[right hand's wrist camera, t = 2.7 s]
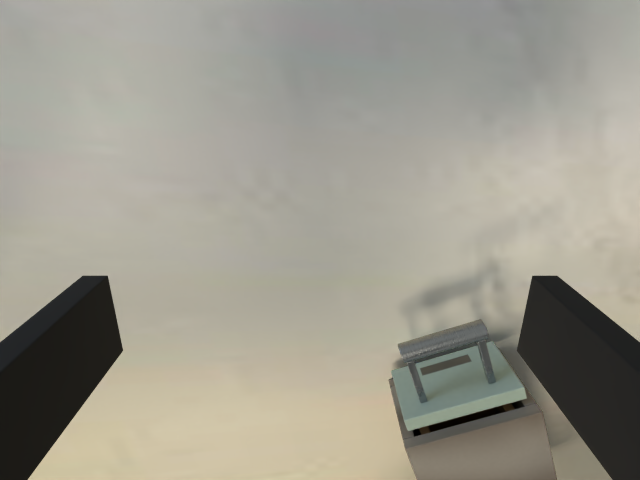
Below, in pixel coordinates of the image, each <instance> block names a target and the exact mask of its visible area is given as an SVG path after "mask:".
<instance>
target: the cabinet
mask: <svg viewBox="0 0 640 480" xmlns="http://www.w3.org/2000/svg"><path fill="white" fill-rule="evenodd" d="M498 349H499V348H498ZM499 351H500V349H499ZM500 352H501V351H500ZM501 354H502V352H501ZM502 355H503V354H502ZM503 357H504V355H503ZM504 358H505V357H504ZM505 360H506V358H505ZM506 361H507V360H506ZM507 363H508V361H507ZM508 364H509V363H508ZM509 365H510V364H509ZM510 367H511V365H510ZM511 368H512V367H511ZM512 370H513V368H512ZM513 371H514V370H513ZM514 373H515V371H514ZM515 374H516V373H515ZM516 376H517V374H516ZM517 377H518V376H517ZM518 379H519V380H520V378H519V377H518ZM520 381H521V380H520ZM521 383H522V381H521ZM389 384H390V388H391V392H392V396H393V400H394V405H395V409H396V413H397V417H398V421H399V425H400V429H401V434H402V438H403V442H404V446H405V450H406V452H407V455H408V458H409V460H410V463H411V466H412V468H413V471H414V473H415V476H416V479H417V480H557V477H556V472H555V468H554V463H553V458H552V454H551V449H550V444H549V439H548V435H547V430H546V425H545V421H544V416H543V412H542V410H541V409H540V407H539V406H538V405H537V404H536V402H535V400H534V399H533V397H532V396H531V394H530V393H529V392H528V390H527V389H526V387H525V386H524V384H523V383H522V384H523V386H524V388H525V392H526V396H527V398H526V399H523V400H520V401H516V402H512V405H513V406H514V408H515V409H514V410H510V411H507V412H503V413H499V414H496V415H492V416H488V417H485V418H481V419H477V420H474V421H470V422H466V423H463V424H459V425H455V426H452V427H448V428H444V429H441V430H437V431H433V432H430V433H426V434H422V435H421V433H420V430H419V428H418V429H414V430H410V431H408V430H407V428H406V425H405V422H404V419H403V415H402V411H401V407H400V403H399V400H398V396H397V392H396V388H395V384H394V380H393V379H391V380H389Z"/></svg>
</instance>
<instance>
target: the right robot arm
mask: <svg viewBox="0 0 640 480" xmlns="http://www.w3.org/2000/svg"><path fill="white" fill-rule="evenodd" d="M122 351H123V348H122V343H121V338H120V334H119V329H118V324H117V319H116V314H115V309H114V304H113V300H112V295H111V290H110V285H109V280H108V276H82V277H81V278H80V279H78V280H77V281H76V282H75V283H73V284H72V285H71V286H70V287H68V288H67V289H66V290H65V291H63V292H62V293H61V294H60V295H58V296H57V297H56V298H55V299H53V300H52V301H51V302H50V303H49V304H47V305H46V306H45V307H44V308H42V309H41V310H40V311H39V312H37V313H36V314H35V315H34V316H32V317H31V318H30V319H29V320H27V321H26V322H25V323H24V324H23V325H21V326H20V327H19V328H18V329H16V330H15V331H14V332H13V333H11V334H10V335H9V336H8V337H6V338H5V339H4V340H3V341H1V342H0V480H28V478H29V477H30V476H31V474H32V473H33V471H34V470H35V469H36V467H37V466H38V465H39V463H40V462H41V461H42V459H43V458H44V457H45V455H46V454H47V453H48V451H49V450H50V448H51V447H52V446H53V444H54V443H55V442H56V440H57V439H58V438H59V436H60V435H61V434H62V432H63V431H64V430H65V428H66V427H67V426H68V424H69V423H70V421H71V420H72V419H73V417H74V416H75V415H76V413H77V412H78V411H79V409H80V408H81V407H82V405H83V404H84V403H85V401H86V400H87V399H88V397H89V396H90V394H91V393H92V392H93V390H94V389H95V388H96V386H97V385H98V384H99V382H100V381H101V380H102V378H103V377H104V376H105V374H106V373H107V371H108V370H109V369H110V367H111V366H112V365H113V363H114V362H115V361H116V359H117V358H118V357H119V355H120V354H121V353H122ZM517 351H518V353H519V354H520V355H521V357H522V358H523V359H524V361H525V362H526V363H527V365H528V366H529V367H530V369H531V370H532V371H533V373H534V374H535V376H536V377H537V378H538V380H539V381H540V382H541V384H542V385H543V386H544V388H545V389H546V390H547V392H548V393H549V394H550V396H551V397H552V399H553V400H554V401H555V403H556V404H557V405H558V407H559V408H560V409H561V411H562V412H563V413H564V415H565V416H566V417H567V419H568V420H569V421H570V423H571V424H572V426H573V427H574V428H575V430H576V431H577V432H578V434H579V435H580V436H581V438H582V439H583V440H584V442H585V443H586V444H587V446H588V447H589V448H590V450H591V451H592V453H593V454H594V455H595V457H596V458H597V459H598V461H599V462H600V463H601V465H602V466H603V467H604V469H605V470H606V471H607V473H608V474H609V476H610V477H611V478H612V480H640V342H639V341H637V340H636V339H635V338H634V337H632V336H631V335H630V334H629V333H627V332H626V331H625V330H624V329H622V328H621V327H620V326H619V325H617V324H616V323H615V322H614V321H613V320H611V319H610V318H609V317H608V316H606V315H605V314H604V313H603V312H601V311H600V310H599V309H598V308H596V307H595V306H594V305H593V304H591V303H590V302H589V301H588V300H587V299H585V298H584V297H583V296H582V295H580V294H579V293H578V292H577V291H575V290H574V289H573V288H572V287H570V286H569V285H568V284H567V283H565V282H564V281H563V280H562V279H560V278H559V277H558V276H532V280H531V285H530V290H529V295H528V300H527V304H526V309H525V314H524V319H523V324H522V329H521V334H520V338H519V343H518V348H517Z"/></svg>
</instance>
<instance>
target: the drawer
mask: <svg viewBox="0 0 640 480" xmlns="http://www.w3.org/2000/svg"><path fill="white" fill-rule="evenodd" d="M488 338H489V335H488V331H487V328H486V326H485V324H484V322H483V321H482V320H481V319H480V320H476V321H473V322H470V323H466V324H463V325H460V326H456V327H453V328H450V329H446V330H443V331H440V332H437V333H433V334H430V335H427V336H423V337H420V338H417V339H413V340H410V341H407V342H403V343H400V344H398V347H399V351H400V354H401V357H402V360H403V362H404V363H407V366H406V367H402V368H399V369H395V370H392V371H391V372H392V376H393V380H394V384H395V388H396V392H397V396H398V400H399V403H400V407H401V411H402V415H403V419H404V422H405V425H406V428H407V430H408V431H410V430H414V429H418V428H419V430H420V433H421V435H422V434H426V433H430V432H433V431H437V430H441V429H444V428H448V427H452V426H455V425H459V424H463V423H466V422H470V421H474V420H477V419H481V418H485V417H488V416H492V415H496V414H499V413H503V412H507V411H510V410H514V409H515V408H514V406H513V405H512V402H516V401H520V400H523V399H526V398H527V396H526V392H525V388H524V386H523V384H522V383H521V381H520V380H519V379H518V377H517V376H516V374H515V373H514V371H513V370H512V368H511V367H510V365H509V364H508V363H507V361H506V360H505V358H504V357H503V355H502V354H501V352H500V351H499V349H498V348H497V346H496V345H495V344H494V342H493V341H490V342H487V343H486V340H485V339H488ZM474 342H477V346H473V347H470V348H467V349H463V350H460V351H456V352H453V353H450V354H446V355H443V356H440V357H436V358H433V359H429V360H426V361H423V362H419V363H416V364H415V362H414V360H417V359H420V358H424V357H427V356H430V355H434V354H437V353H440V352H444V351H447V350H451V349H454V348H457V347H461V346H464V345H468V344H471V343H474Z"/></svg>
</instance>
